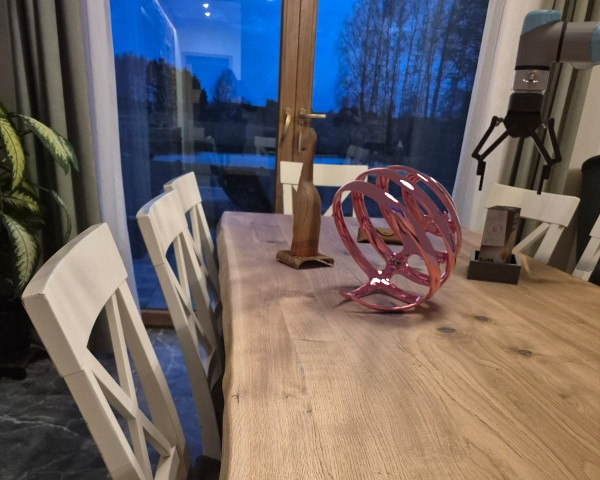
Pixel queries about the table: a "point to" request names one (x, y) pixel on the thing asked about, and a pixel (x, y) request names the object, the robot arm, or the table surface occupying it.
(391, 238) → the sunglasses case
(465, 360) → the table surface
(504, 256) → the coffee box
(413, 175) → the spiral basket
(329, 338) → the table surface
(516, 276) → the box
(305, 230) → the bird sculpture
